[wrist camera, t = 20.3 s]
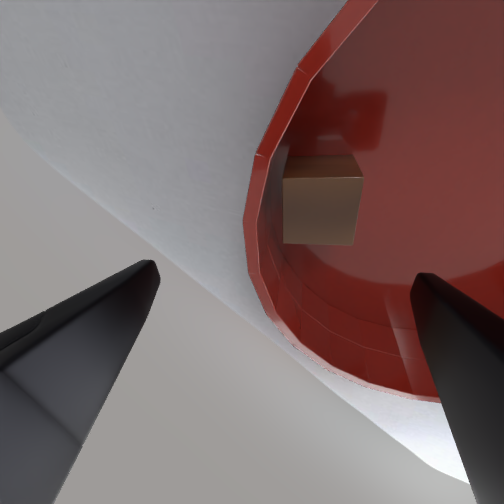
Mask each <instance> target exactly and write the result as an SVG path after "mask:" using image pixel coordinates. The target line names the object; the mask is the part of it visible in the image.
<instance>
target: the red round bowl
mask: <svg viewBox="0 0 504 504" xmlns="http://www.w3.org/2000/svg"><path fill="white" fill-rule="evenodd" d="M323 155H354V157H355V159H356V161H357V163H358V165H359V168H360V170H361V172H362V174H363V176H364V183H363V189H362V195H361V201H360V206H359V212H358V218H357V224H356V230H355V236H354V242H353V245H352V246H351V245H320V244H289V243H283V236H282V176H283V172H284V168H285V164H286V159H287V157H288V156H323ZM243 230H244V239H245V248H246V257H247V266H248V273H249V276H250V278H251V281H252V283H253V285H254V287H255V290H256V292H257V294H258V297H259V299H260V301H261V303H262V306H263V308H264V310H265V313H266V314H267V316H268V317H269V318H270V319H271V320H272V322H273V323H274V324H275V325H276V326H277V328H278V329H279V330H280V331H281V332H282V334H283V335H284V336H285V337H286V338H287V339H288V341H289V342H290V343H291V344H292V345H293V346H294V347H295V348H297V349H298V350H300V351H301V352H302V353H304V354H305V355H307V356H308V357H309V358H311V359H312V360H313V361H315V362H316V363H318V364H319V365H320V366H322V367H323V368H325V369H326V370H328V371H331V372H333V373H335V374H337V375H339V376H342V377H344V378H346V379H348V380H350V381H353V382H355V383H357V384H359V385H361V386H364V387H366V388H370V389H374V390H377V391H381V392H385V393H389V394H392V395H396V396H400V397H403V398H407V399H412V400H420V401H428V402H435V403H441V401H440V398H439V395H438V392H437V390H436V387H435V384H434V381H433V378H432V376H431V373H430V370H429V367H428V364H427V362H426V359H425V356H424V353H423V350H422V347H421V344H420V341H419V337H418V333H417V328H416V324H415V319H414V315H413V310H412V306H411V301H410V291H411V288H412V285H413V283H414V280H415V277H416V275H417V274H418V273H420V272H424V273H434V274H436V275H437V276H439V277H440V278H442V279H443V280H445V281H446V282H448V283H449V284H451V285H452V286H454V287H455V288H457V289H458V290H460V291H461V292H463V293H464V294H466V295H467V296H469V297H471V298H472V299H474V300H475V301H477V302H478V303H480V304H481V305H483V306H484V307H486V308H487V309H489V310H490V311H492V312H493V313H495V314H496V315H498V316H499V317H501V318H502V319H504V0H348V1H347V2H346V4H345V5H344V6H343V7H342V9H341V10H340V11H339V13H338V14H337V15H336V16H335V18H334V19H333V20H332V21H331V23H330V24H329V25H328V27H327V28H326V29H325V30H324V32H323V33H322V34H321V35H320V37H319V38H318V39H317V41H316V42H315V43H314V44H313V46H312V47H311V48H310V49H309V51H308V52H307V53H306V55H305V56H304V57H303V58H302V60H301V61H300V62H299V63H298V67H296V68H295V71H294V73H293V75H292V77H291V79H290V81H289V83H288V85H287V87H286V90H285V92H284V94H283V96H282V98H281V100H280V102H279V104H278V106H277V108H276V111H275V113H274V115H273V117H272V119H271V121H270V123H269V125H268V127H267V130H266V132H265V134H264V136H263V138H262V140H261V142H260V144H259V146H258V148H257V151H256V154H255V157H254V162H253V168H252V173H251V178H250V184H249V189H248V194H247V200H246V205H245V210H244V216H243Z"/></svg>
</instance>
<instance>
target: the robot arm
mask: <svg viewBox="0 0 504 504" xmlns="http://www.w3.org/2000/svg"><path fill="white" fill-rule="evenodd" d="M159 285H160V275H159V272H158V269H157V266H156V264H155V262H154V261H153V260H141V261H139V262H137V263H135V264H133V265H131V266H129V267H128V268H126V269H124V270H122V271H120V272H118V273H116V274H114V275H112V276H110V277H108V278H106V279H105V280H103V281H101V282H99V283H97V284H95V285H93V286H91V287H89V288H87V289H85V290H84V291H81V292H80V293H78V294H76V295H74V296H72V297H70V298H68V299H66V300H64V301H62V302H60V303H58V304H57V305H55V306H53V307H51V308H49V309H47V310H46V311H43V312H41V313H39V314H37V315H36V316H34V317H31V318H30V319H28V320H26V321H24V322H22V323H20V324H18V325H16V326H14V327H12V328H10V329H7V330H6V331H3V332H1V333H0V504H54V502H55V500H56V498H57V496H58V494H59V492H60V490H61V488H62V486H63V484H64V482H65V480H66V478H67V476H68V474H69V472H70V470H71V468H72V466H73V464H74V462H75V461H76V459H77V457H78V454H79V453H80V451H81V448H82V445H83V444H84V442H85V440H86V438H87V436H88V434H89V432H90V430H91V428H92V426H93V424H94V422H95V420H96V418H97V416H98V414H99V412H100V410H101V408H102V406H103V404H104V402H105V400H106V398H107V396H108V394H109V392H110V390H111V388H112V386H113V384H114V382H115V381H116V379H117V377H118V374H119V373H120V370H121V368H122V367H123V365H124V363H125V361H126V359H127V356H128V354H129V353H130V351H131V349H132V347H133V345H134V343H135V341H136V338H137V336H138V335H139V333H140V331H141V329H142V327H143V325H144V323H145V321H146V318H147V316H148V314H149V311H150V309H151V306H152V303H153V300H154V298H155V295H156V292H157V290H158V287H159ZM410 301H411V306H412V310H413V315H414V319H415V324H416V328H417V333H418V337H419V341H420V344H421V347H422V350H423V353H424V356H425V359H426V362H427V364H428V367H429V370H430V373H431V376H432V378H433V381H434V384H435V387H436V390H437V392H438V395H439V398H440V401H441V404H442V406H443V409H444V412H445V415H446V418H447V421H448V423H449V426H450V429H451V432H452V435H453V437H454V440H455V443H456V446H457V449H458V451H459V454H460V457H461V460H462V463H463V465H464V468H465V471H466V474H467V477H468V479H469V482H470V485H471V488H472V491H473V493H474V496H475V499H476V502H477V504H504V319H502V318H501V317H499V316H498V315H496V314H495V313H493V312H492V311H490V310H489V309H487V308H486V307H484V306H483V305H481V304H480V303H478V302H477V301H475V300H474V299H472V298H471V297H469V296H467V295H466V294H464V293H463V292H461V291H460V290H458V289H457V288H455V287H454V286H452V285H451V284H449V283H448V282H446V281H445V280H443V279H442V278H440V277H439V276H437V275H436V274H434V273H424V272H420V273H418V274H417V275H416V277H415V280H414V283H413V285H412V288H411V291H410Z"/></svg>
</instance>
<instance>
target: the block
mask: <svg viewBox="0 0 504 504" xmlns="http://www.w3.org/2000/svg"><path fill="white" fill-rule="evenodd" d="M363 183H364V176H363V174H362V172H361V170H360V168H359V165H358V163H357V161H356V159H355V157H354V155H323V156H288V157H287V159H286V164H285V168H284V172H283V176H282V236H283V243H289V244H320V245H351V246H352V245H353V242H354V236H355V230H356V224H357V218H358V212H359V206H360V201H361V195H362V189H363Z"/></svg>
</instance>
